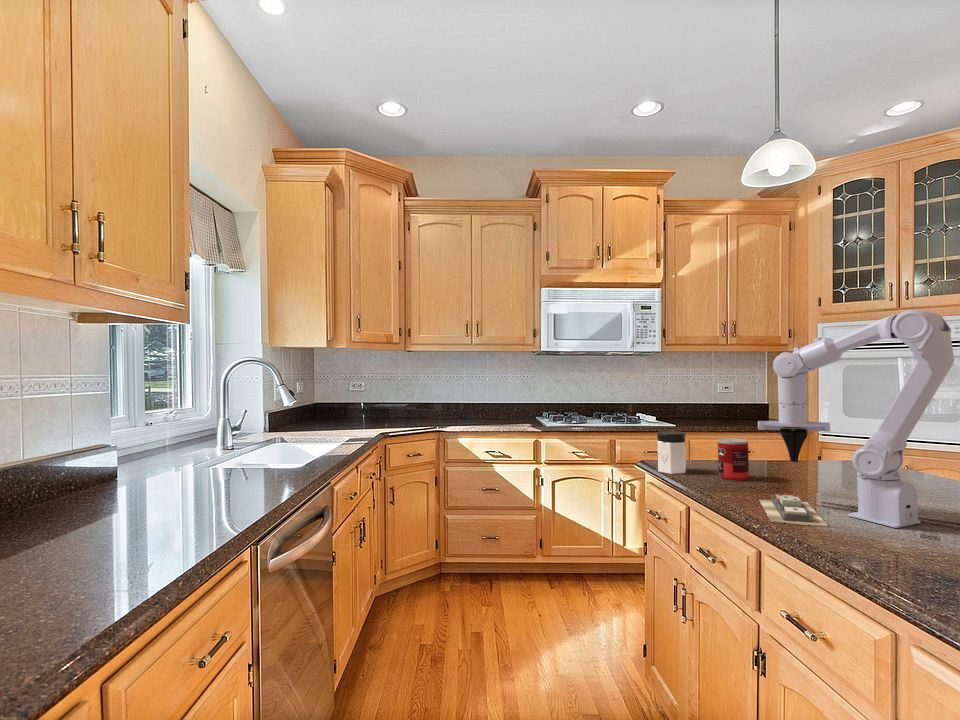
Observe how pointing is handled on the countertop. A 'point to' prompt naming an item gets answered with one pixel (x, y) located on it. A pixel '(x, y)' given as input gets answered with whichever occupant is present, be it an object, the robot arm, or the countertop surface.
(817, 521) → the key board
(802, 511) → the key one
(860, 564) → the countertop surface
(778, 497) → the key three
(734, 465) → the canned food
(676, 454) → the jar
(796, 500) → the key two
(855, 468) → the robot arm
